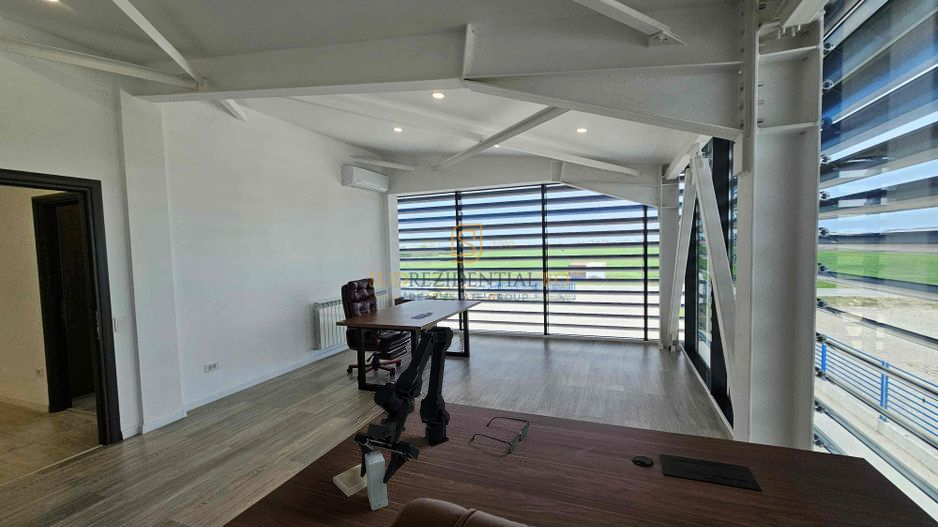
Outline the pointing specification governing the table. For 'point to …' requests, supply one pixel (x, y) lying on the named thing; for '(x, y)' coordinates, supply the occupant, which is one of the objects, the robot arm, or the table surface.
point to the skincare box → (376, 480)
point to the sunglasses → (515, 441)
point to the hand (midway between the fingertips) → (372, 480)
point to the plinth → (351, 480)
